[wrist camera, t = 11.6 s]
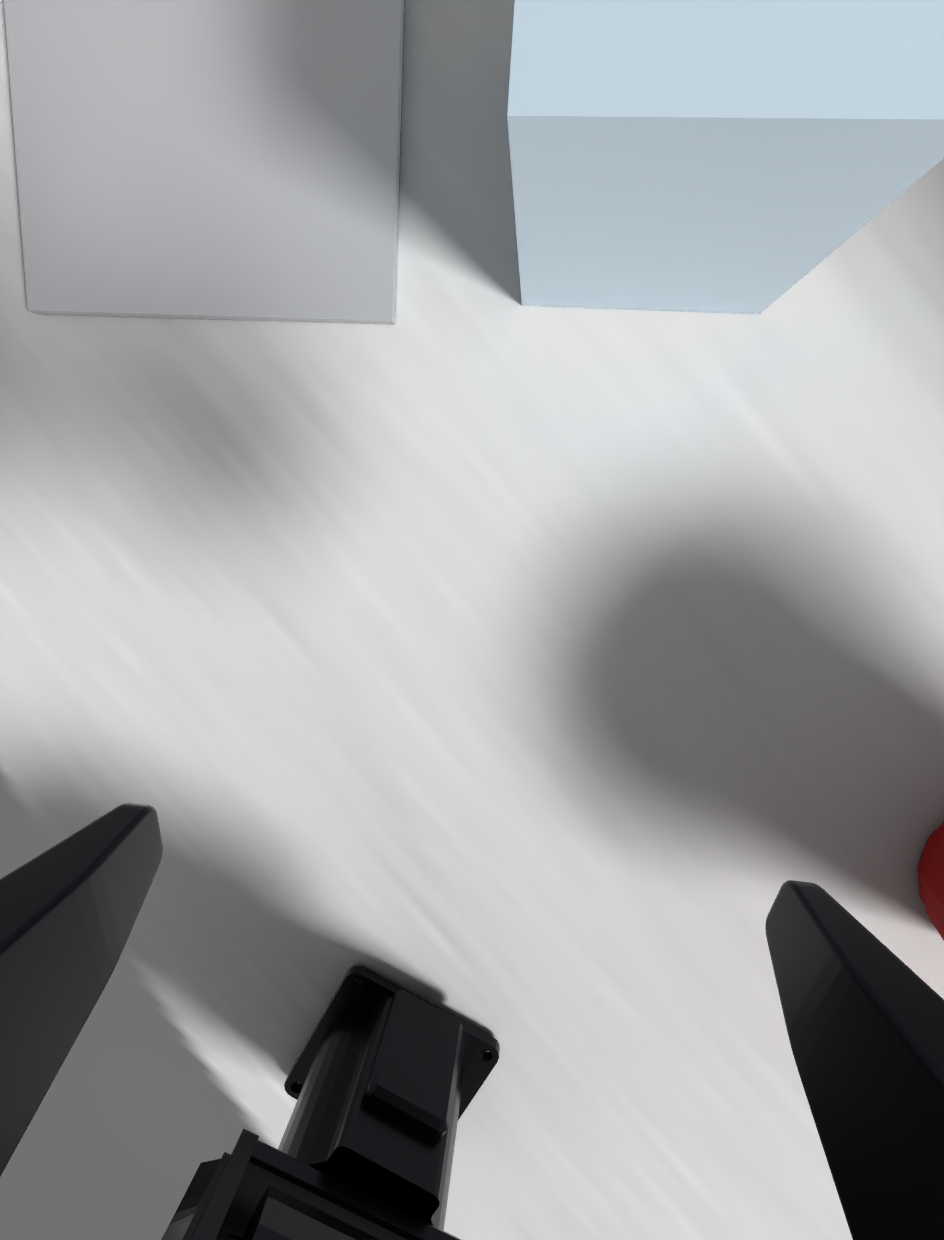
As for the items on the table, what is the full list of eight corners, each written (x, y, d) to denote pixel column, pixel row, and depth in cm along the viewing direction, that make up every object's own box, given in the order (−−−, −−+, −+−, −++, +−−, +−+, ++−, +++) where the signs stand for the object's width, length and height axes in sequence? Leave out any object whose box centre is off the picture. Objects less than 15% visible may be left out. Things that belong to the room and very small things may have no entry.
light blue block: (759, 314, 18) (988, 120, 9) (521, 305, 19) (506, 115, 10) (798, 38, 17) (1114, -523, 8) (541, 39, 18) (545, -479, 8)
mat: (395, 324, 19) (392, 321, 19) (37, 314, 20) (27, 310, 20) (408, -143, 17) (405, -158, 17) (4, -127, 18) (-8, -141, 18)
